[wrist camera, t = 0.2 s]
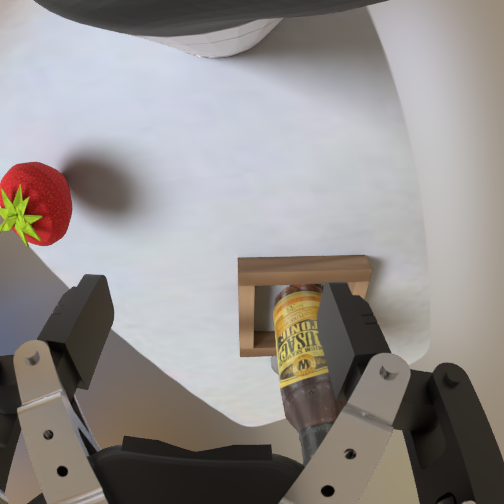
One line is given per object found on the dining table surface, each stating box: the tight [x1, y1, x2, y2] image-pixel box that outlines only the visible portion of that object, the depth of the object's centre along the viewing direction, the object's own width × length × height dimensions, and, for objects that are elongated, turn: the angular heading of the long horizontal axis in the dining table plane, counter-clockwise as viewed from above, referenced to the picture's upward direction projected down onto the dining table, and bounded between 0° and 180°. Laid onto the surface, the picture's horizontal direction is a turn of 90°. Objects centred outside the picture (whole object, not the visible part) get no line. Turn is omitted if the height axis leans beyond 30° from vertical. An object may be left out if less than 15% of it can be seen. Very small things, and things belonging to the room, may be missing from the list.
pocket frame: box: [238, 255, 373, 357], centre depth 34 cm, size 12×13×2 cm
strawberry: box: [0, 162, 72, 247], centre depth 22 cm, size 6×8×10 cm
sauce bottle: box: [273, 284, 347, 467], centre depth 27 cm, size 6×6×20 cm
